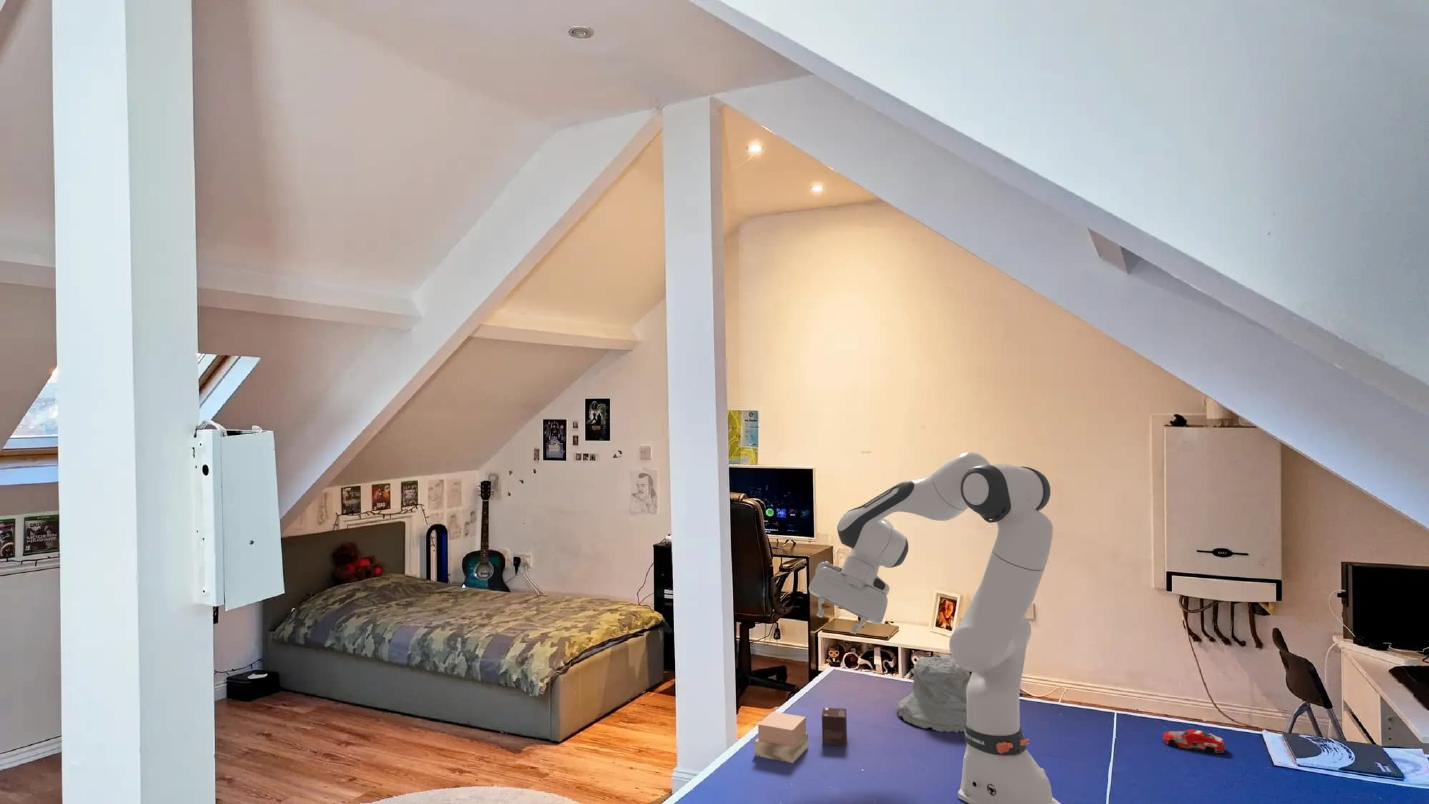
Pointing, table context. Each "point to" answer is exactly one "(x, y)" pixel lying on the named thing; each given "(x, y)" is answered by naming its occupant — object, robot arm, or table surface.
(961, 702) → the hat
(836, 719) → the box
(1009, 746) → the robot arm
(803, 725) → the tower top
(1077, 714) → the table surface
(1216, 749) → the race car
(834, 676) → the table surface
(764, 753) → the tower base
